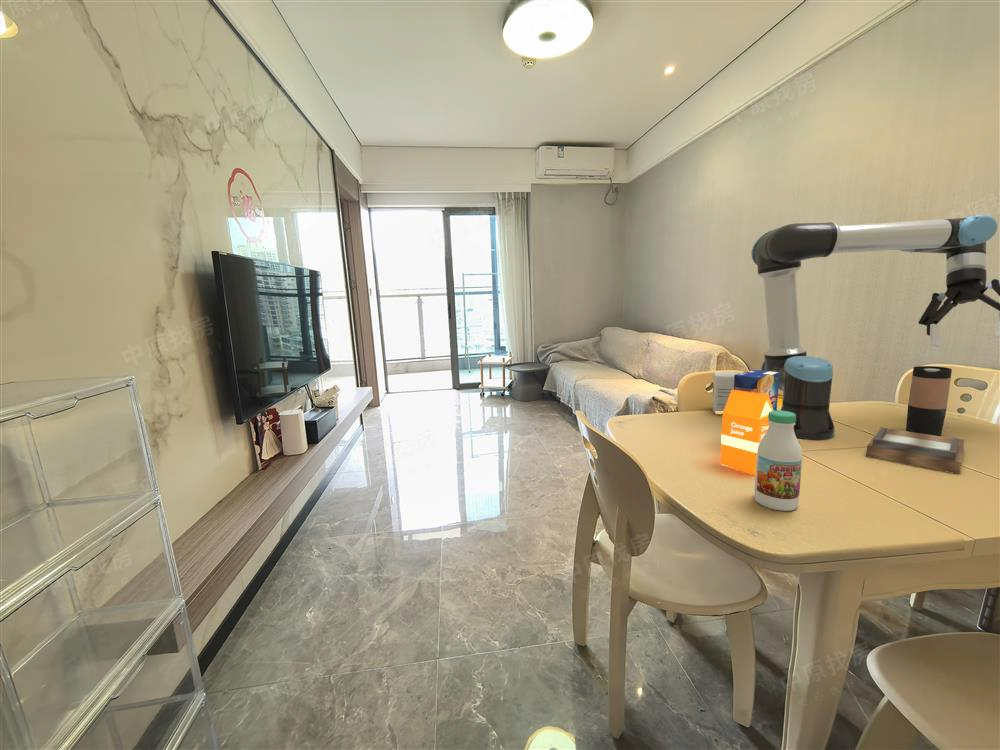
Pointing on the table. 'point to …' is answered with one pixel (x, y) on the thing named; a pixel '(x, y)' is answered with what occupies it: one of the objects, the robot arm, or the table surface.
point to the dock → (917, 449)
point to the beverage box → (759, 384)
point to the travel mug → (928, 399)
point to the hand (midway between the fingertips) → (966, 341)
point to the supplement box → (722, 389)
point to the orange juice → (744, 429)
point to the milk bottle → (779, 464)
